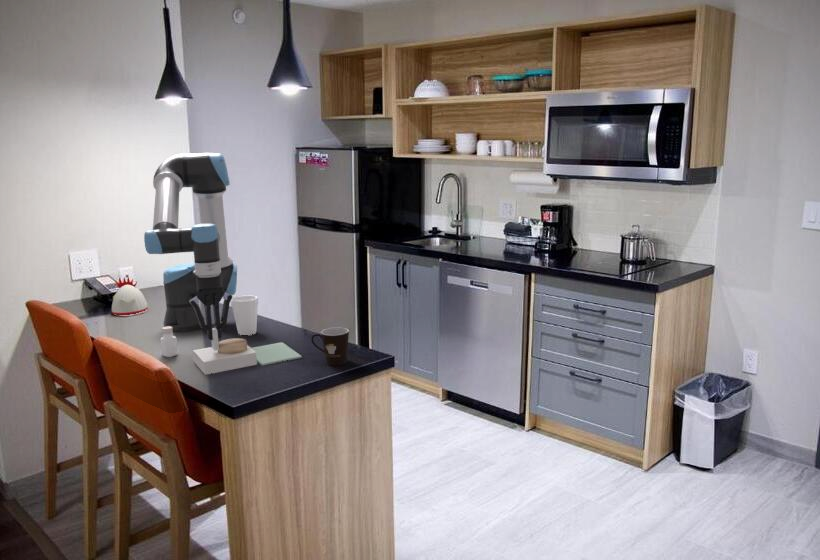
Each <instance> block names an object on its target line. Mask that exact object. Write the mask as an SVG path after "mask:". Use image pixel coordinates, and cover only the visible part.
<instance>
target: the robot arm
mask: <svg viewBox="0 0 820 560" xmlns="http://www.w3.org/2000/svg"><path fill="white" fill-rule="evenodd" d="M227 167H228V166H227V163H226V160H225V156H223V154H221V153H218V152H216V153H215V152H202V153H201V152H199V153H179V154H173V156H169V157H168V158H167V159H165V160H164V161H162V163H160V165H158V167H157V169H156V171H155V172H154V175H153V179H152V180H153V181H152V184H153V189H154V190H155V194H154V195H155V198H154V207H153V209H154V210H153V219H152V221H153V222H152V223H153V224H152V229H150V230H146V231H145V232H144V233H143V235H144V237H143V239H144V240H143V241H144V247H145V251H146V252H147V254H149V255H165V254H166V255H168V254H177V253H178V254H179V253H193V258H194V260H193V262H194V263H185V264H178V265H175V266H172V267H169V268H167V269H165V270H164V272H163V274H162V277H163V282H162V283H163V287H164V295H165V296H164V297H165V305H166V309H165V314H164V319H163V321H162V322H163V325H162V326H163V327H167V326H171V327H172V330H173V333H182V332H190V331H194V330H199V329H201V328H202V330H206V332H207V338H208V340H209V341H211V347H212V349H213V350H214V351H216V350H219V342H220V341H219V340H220V339H222V332H221V331H222V330H221V329H222V328H223V327H226V326H227V323H228V322H227V321H228V317H229V308H230V305H231V299H232V298H233V295H235V294H236V292H237V284H238V283H237V281H238V280H237V279H238V265H237V264H234V260H233V259H232V258H230V257H229V252H228V240H227V230H226V220H225V219H226V218H225V210H224V199H223V195H224V194H225V193H226V192H227V187H228V186H230V183H231V182H230V178H229V172H228V169H227ZM183 188H191V189H192V193H193V194H194V195H195V196H196V197H197V202H198V211H199V222H200V223H199V224H197V223H196V224H194V225H192V226H191V227H183V228H179V213H180V210H179V209H180V192H181V191H182V189H183ZM222 299H223V302H222V303H223V304H222V310H221V316H220V302H221V301H222ZM199 301H200V302H201V304H203V308H204V313H203V311H202V308H201V306H200V302H199ZM211 307H212V310H213V319H214V320H213V321H214V327H213V323H212V322H213V321H212V311H211ZM205 324H206V325H205ZM198 328H199V329H198Z"/></svg>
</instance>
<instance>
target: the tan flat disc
mask: <svg viewBox="0 0 820 560" xmlns="http://www.w3.org/2000/svg"><path fill="white" fill-rule="evenodd" d="M218 342H219V350H218V353H220V354H237V353H241V352H244V351H246V350H247V345H248V341H247V339H245V338H240V337H239V338H238V337H237V338H234V337H233V338H227V339H223V340H219V341H218Z"/></svg>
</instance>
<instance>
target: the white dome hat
mask: <svg viewBox="0 0 820 560" xmlns="http://www.w3.org/2000/svg"><path fill="white" fill-rule="evenodd" d="M137 283H138V281H135V283H134V278H132V279H131V281H130V277H129V276H127V279H126V277H123V282H122V280H121V278H120V277H119V278H118V281H116V280H115V284H116V285H117V287H118V289H117V291H116V292H115V294H114V295H113V296H112V304H111V314H112V313H113V314H116V315H130V314H136V313H139V312H142V311H145V310H146V309H148V310H149V305H148V303H147V300H146V298H145V296H144V294H143V292H142V291H141V290H140V289H139V288H138V287H136V286H137Z"/></svg>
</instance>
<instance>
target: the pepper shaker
mask: <svg viewBox="0 0 820 560" xmlns="http://www.w3.org/2000/svg"><path fill="white" fill-rule="evenodd" d="M161 331H162V332H161V333H162V337H161V338H160V349H161V356H163V357H166V358H171V357H175V356H177V355H179V349H178V342H177V341H178V340H177V337H176V336H175V335H173V334H174V332H173V330H172V327H171V326H167V327H164V326H162V328H161Z"/></svg>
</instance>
